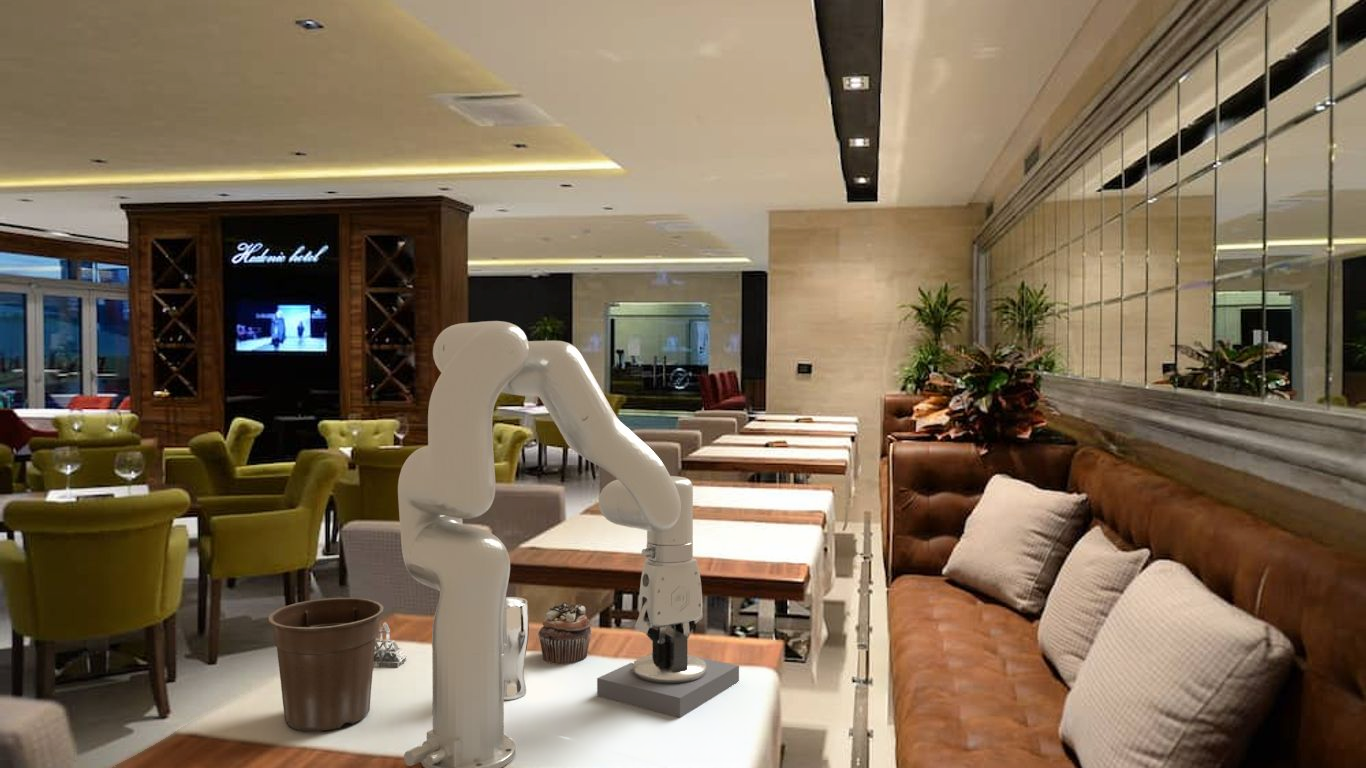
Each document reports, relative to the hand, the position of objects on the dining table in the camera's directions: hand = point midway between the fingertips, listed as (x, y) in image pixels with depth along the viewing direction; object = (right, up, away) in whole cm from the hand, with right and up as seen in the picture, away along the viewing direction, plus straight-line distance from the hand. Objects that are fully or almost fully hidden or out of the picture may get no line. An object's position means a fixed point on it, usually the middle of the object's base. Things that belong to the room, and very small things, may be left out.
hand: (669, 662), depth 151 cm
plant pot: (-52, -5, -12) cm, 53 cm away
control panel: (0, -5, 0) cm, 4 cm away
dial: (0, -2, 0) cm, 2 cm away
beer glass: (-26, -5, -2) cm, 27 cm away
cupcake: (-19, -4, +16) cm, 26 cm away
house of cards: (-50, -5, +15) cm, 53 cm away
